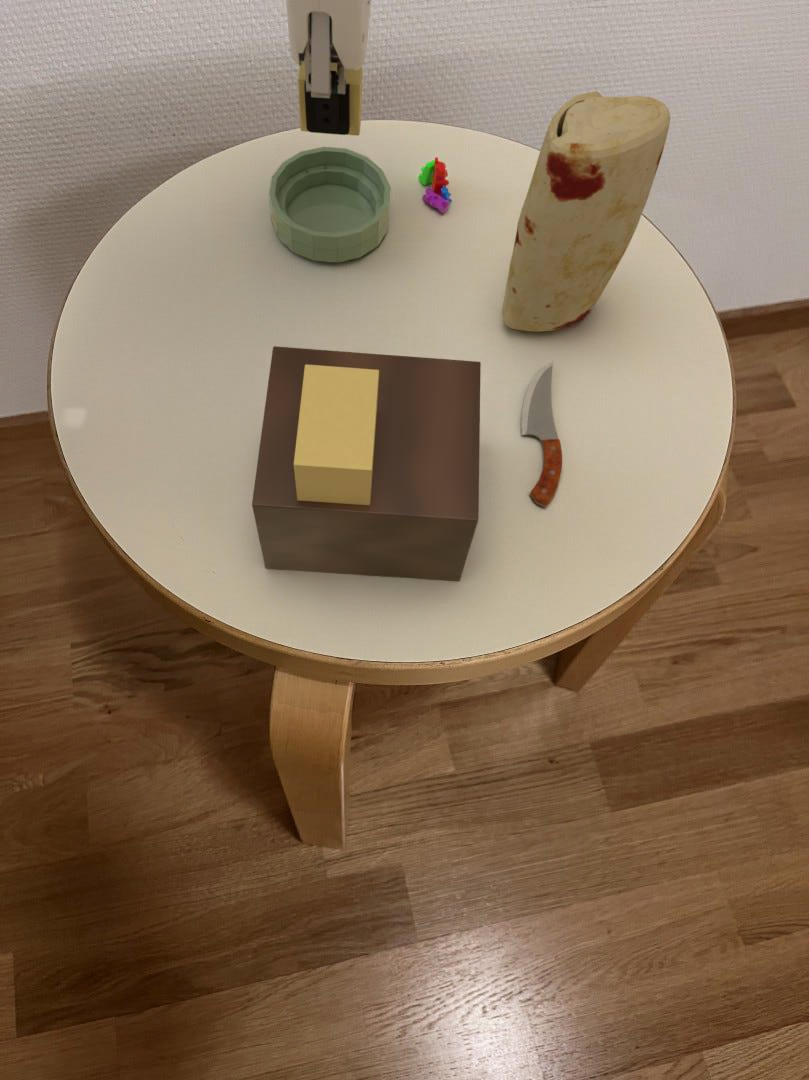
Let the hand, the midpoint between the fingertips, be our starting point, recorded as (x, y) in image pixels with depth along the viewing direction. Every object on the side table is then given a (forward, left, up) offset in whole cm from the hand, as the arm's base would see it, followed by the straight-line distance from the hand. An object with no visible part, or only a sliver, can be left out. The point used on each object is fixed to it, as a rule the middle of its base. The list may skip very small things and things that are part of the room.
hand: (330, 114), depth 68 cm
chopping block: (+5, -27, -11) cm, 30 cm away
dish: (0, 0, -11) cm, 11 cm away
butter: (+3, -29, -1) cm, 29 cm away
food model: (+19, -8, -11) cm, 23 cm away
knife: (+18, -20, -11) cm, 29 cm away
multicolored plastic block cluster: (+9, +4, -11) cm, 15 cm away
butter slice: (0, 0, -1) cm, 1 cm away
